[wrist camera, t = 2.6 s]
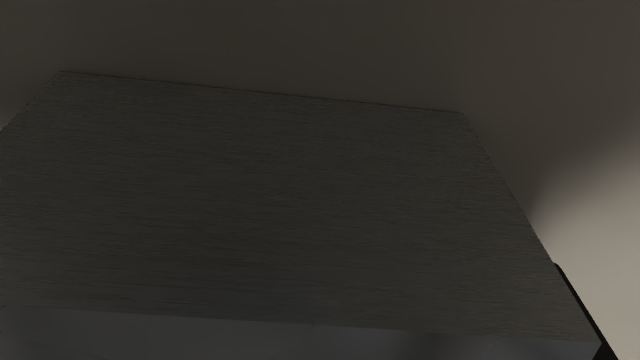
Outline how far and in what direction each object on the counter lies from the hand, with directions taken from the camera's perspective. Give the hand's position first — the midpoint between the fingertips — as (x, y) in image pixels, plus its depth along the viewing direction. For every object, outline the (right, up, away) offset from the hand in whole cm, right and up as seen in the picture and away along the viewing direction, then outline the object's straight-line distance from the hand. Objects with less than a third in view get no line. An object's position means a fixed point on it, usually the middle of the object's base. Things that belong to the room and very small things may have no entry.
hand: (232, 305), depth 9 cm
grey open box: (0, +1, +1) cm, 2 cm away
